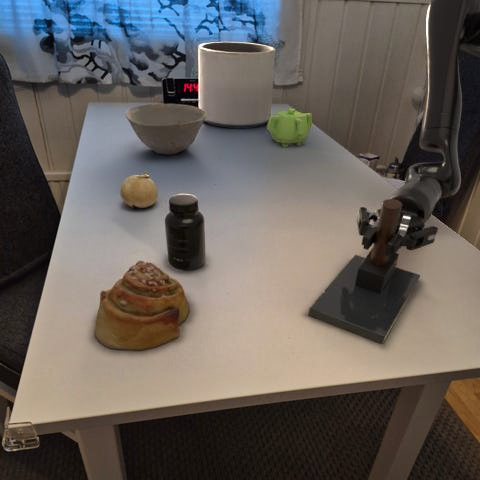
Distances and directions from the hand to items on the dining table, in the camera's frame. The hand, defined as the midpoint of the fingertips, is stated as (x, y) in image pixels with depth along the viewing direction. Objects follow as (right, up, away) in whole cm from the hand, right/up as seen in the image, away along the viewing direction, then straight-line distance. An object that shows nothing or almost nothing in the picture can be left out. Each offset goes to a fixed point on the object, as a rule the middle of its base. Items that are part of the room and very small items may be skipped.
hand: (377, 246), depth 68 cm
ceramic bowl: (-42, +38, +62) cm, 84 cm away
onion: (-43, +14, +32) cm, 56 cm away
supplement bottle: (-31, -1, +13) cm, 33 cm away
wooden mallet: (+2, -4, +8) cm, 9 cm away
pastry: (-36, -11, 0) cm, 37 cm away
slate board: (0, -7, +6) cm, 10 cm away
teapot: (-6, +44, +71) cm, 84 cm away
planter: (-23, +60, +90) cm, 110 cm away
